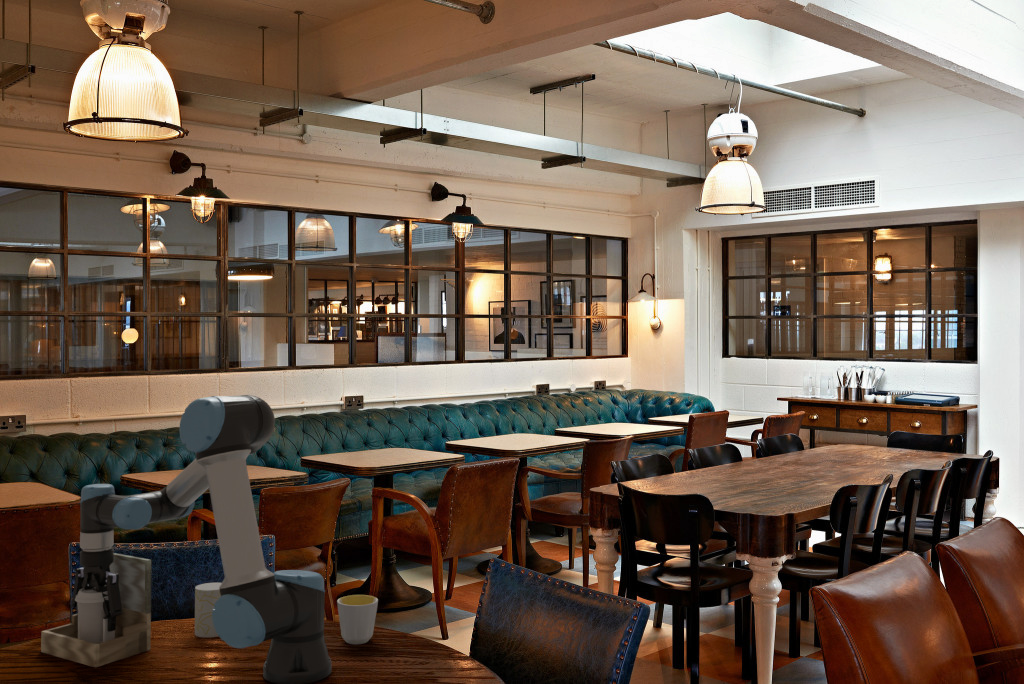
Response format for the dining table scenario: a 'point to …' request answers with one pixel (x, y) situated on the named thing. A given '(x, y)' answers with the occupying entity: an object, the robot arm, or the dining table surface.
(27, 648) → the dining table surface
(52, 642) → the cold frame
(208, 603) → the white cylinder
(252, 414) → the robot arm
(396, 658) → the dining table surface
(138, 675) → the dining table surface
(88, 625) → the coffee cup
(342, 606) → the mug
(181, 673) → the dining table surface
